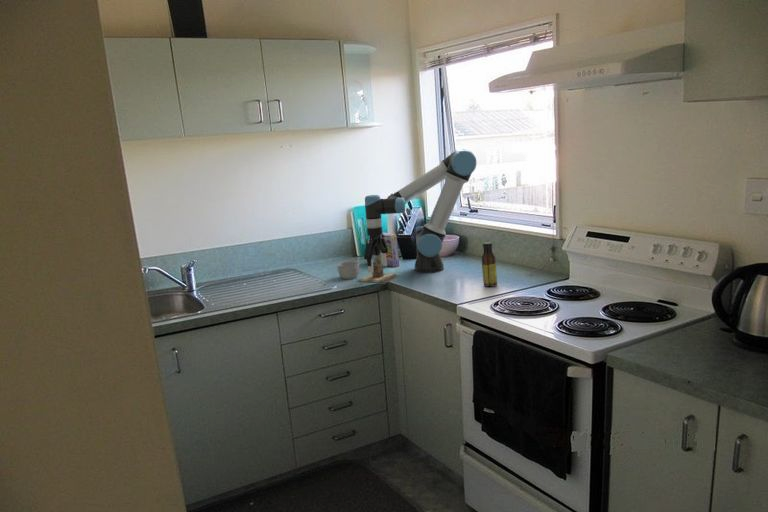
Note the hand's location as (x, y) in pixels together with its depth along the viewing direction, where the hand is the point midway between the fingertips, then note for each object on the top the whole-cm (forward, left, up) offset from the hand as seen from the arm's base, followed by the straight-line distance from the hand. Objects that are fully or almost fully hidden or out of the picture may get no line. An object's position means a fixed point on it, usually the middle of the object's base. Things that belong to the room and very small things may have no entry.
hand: (377, 269), depth 286 cm
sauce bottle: (-57, -2, -5) cm, 57 cm away
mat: (0, 0, -5) cm, 5 cm away
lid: (0, 0, -5) cm, 5 cm away
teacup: (+17, 0, -6) cm, 18 cm away
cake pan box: (+12, -30, -6) cm, 33 cm away
